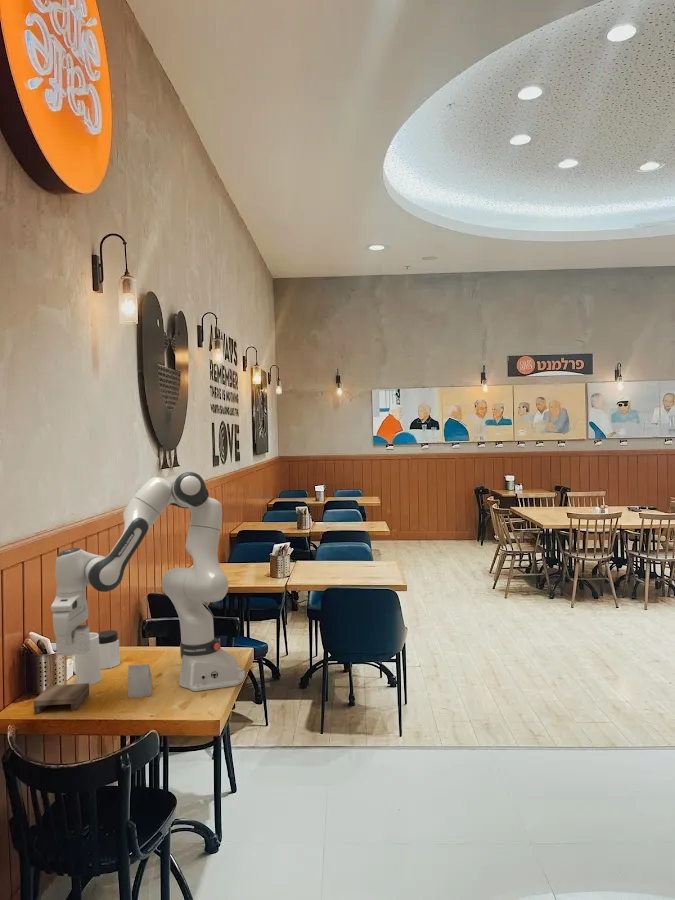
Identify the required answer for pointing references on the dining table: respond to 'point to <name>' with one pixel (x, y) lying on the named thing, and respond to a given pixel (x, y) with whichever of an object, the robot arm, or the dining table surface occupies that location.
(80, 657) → the cup
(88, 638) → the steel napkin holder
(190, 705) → the dining table surface
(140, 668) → the grey tapered block
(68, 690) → the walnut shelf
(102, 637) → the jar
